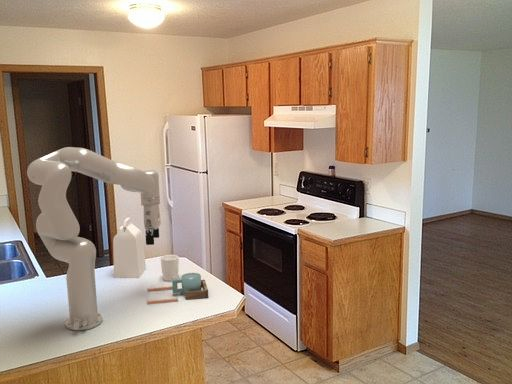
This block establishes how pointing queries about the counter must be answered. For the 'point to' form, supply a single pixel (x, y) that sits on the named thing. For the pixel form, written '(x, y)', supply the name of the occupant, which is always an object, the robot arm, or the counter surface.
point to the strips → (162, 299)
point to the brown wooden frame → (198, 292)
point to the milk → (128, 252)
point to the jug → (187, 283)
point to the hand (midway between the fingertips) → (152, 240)
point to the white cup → (169, 267)
